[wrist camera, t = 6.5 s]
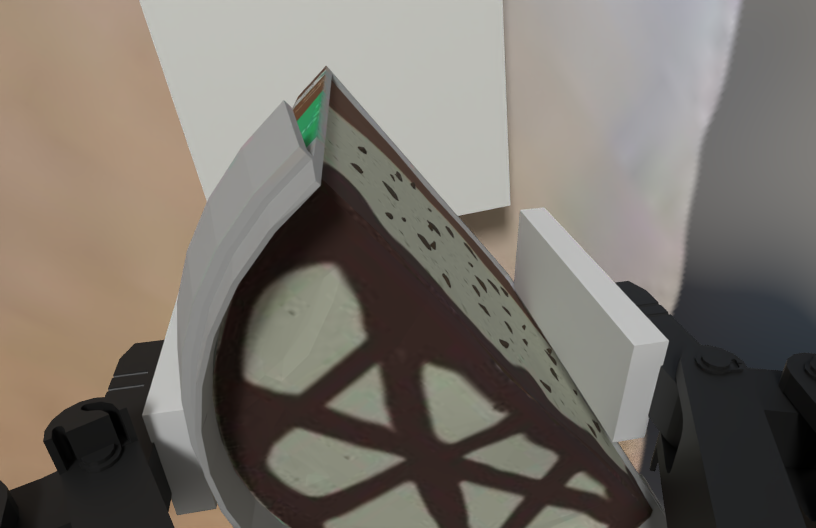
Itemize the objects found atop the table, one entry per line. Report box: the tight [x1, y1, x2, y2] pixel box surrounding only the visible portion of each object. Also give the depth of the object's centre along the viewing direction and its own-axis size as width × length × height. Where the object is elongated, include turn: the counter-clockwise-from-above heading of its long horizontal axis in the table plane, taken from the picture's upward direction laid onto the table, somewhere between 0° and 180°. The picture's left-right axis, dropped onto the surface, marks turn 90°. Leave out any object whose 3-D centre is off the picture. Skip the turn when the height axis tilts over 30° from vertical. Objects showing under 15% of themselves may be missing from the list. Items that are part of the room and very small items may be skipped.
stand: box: [139, 0, 510, 216], centre depth 29 cm, size 16×16×4 cm
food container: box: [177, 66, 667, 528], centre depth 14 cm, size 12×6×10 cm, turn 39°
